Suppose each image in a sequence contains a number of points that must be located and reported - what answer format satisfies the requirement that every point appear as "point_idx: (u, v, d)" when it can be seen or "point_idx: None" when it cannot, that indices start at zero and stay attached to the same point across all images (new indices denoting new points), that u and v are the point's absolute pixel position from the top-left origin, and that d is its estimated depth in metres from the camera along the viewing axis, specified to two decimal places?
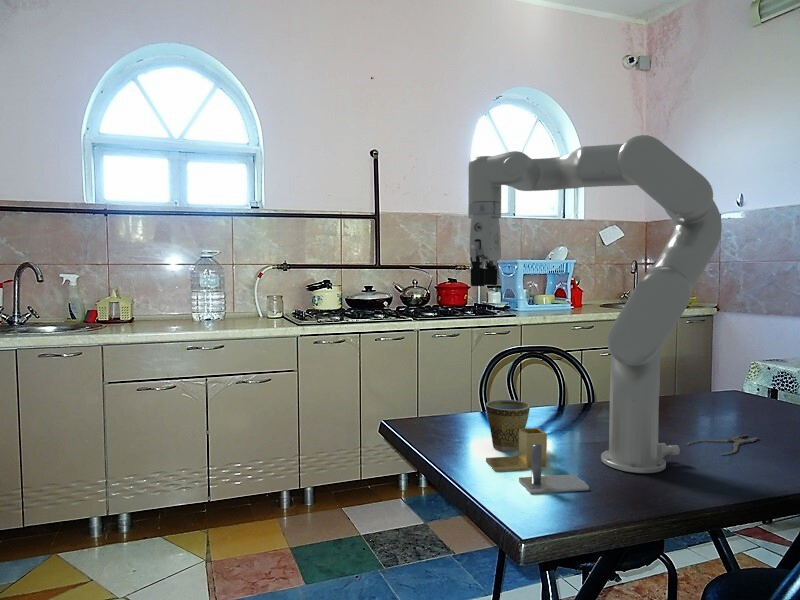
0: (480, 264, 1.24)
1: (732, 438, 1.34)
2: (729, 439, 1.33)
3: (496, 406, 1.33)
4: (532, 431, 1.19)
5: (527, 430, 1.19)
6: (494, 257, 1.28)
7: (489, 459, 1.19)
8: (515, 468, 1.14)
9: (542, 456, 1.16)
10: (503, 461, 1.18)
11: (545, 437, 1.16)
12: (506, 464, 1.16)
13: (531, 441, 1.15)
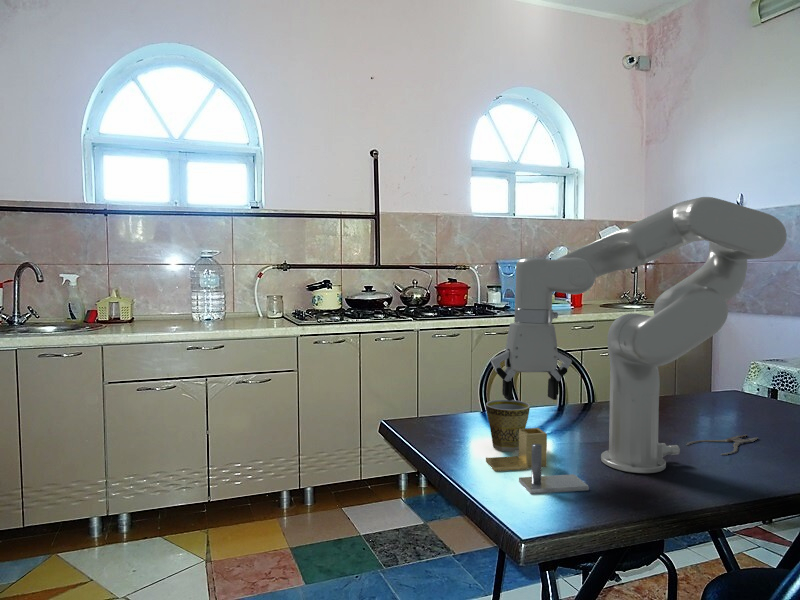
0: None
1: (732, 438, 1.34)
2: (729, 439, 1.33)
3: (496, 406, 1.33)
4: (532, 431, 1.19)
5: (527, 430, 1.19)
6: None
7: (489, 459, 1.19)
8: (515, 468, 1.14)
9: (542, 456, 1.16)
10: (503, 461, 1.18)
11: (545, 437, 1.16)
12: (506, 464, 1.16)
13: (531, 441, 1.15)
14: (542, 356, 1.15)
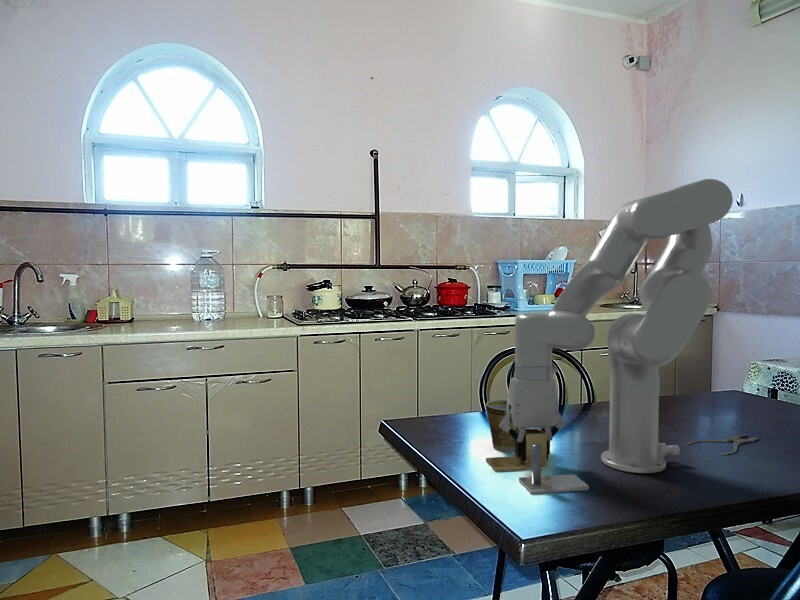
0: None
1: (732, 438, 1.34)
2: (729, 439, 1.33)
3: (496, 406, 1.33)
4: (532, 431, 1.19)
5: (527, 430, 1.19)
6: None
7: (489, 459, 1.19)
8: (515, 468, 1.14)
9: (542, 456, 1.16)
10: (502, 461, 1.18)
11: (545, 437, 1.16)
12: (506, 464, 1.16)
13: (531, 441, 1.15)
14: (543, 412, 1.15)
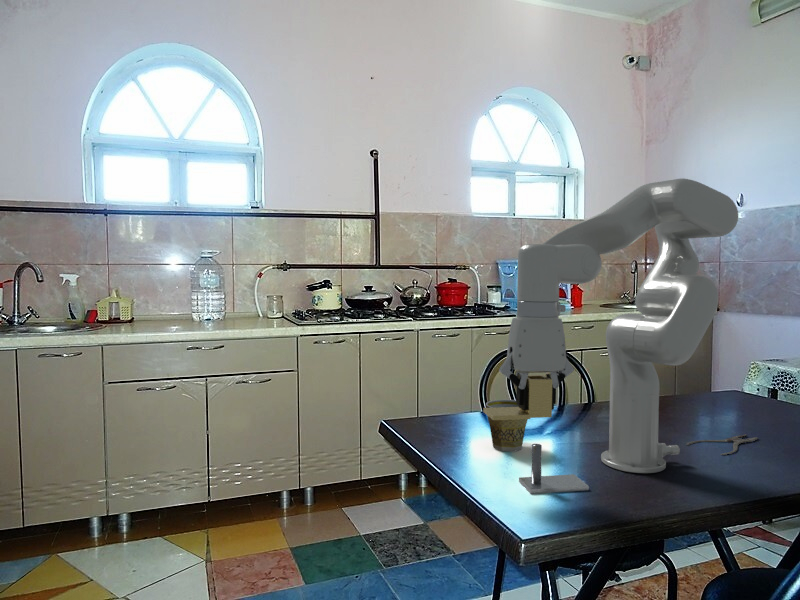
0: None
1: (732, 438, 1.34)
2: (729, 439, 1.33)
3: (496, 406, 1.33)
4: (536, 378, 1.06)
5: (530, 377, 1.06)
6: None
7: (486, 408, 1.06)
8: (516, 417, 1.01)
9: (547, 405, 1.03)
10: (502, 410, 1.04)
11: (550, 383, 1.03)
12: (506, 413, 1.02)
13: (534, 387, 1.02)
14: (549, 354, 1.02)
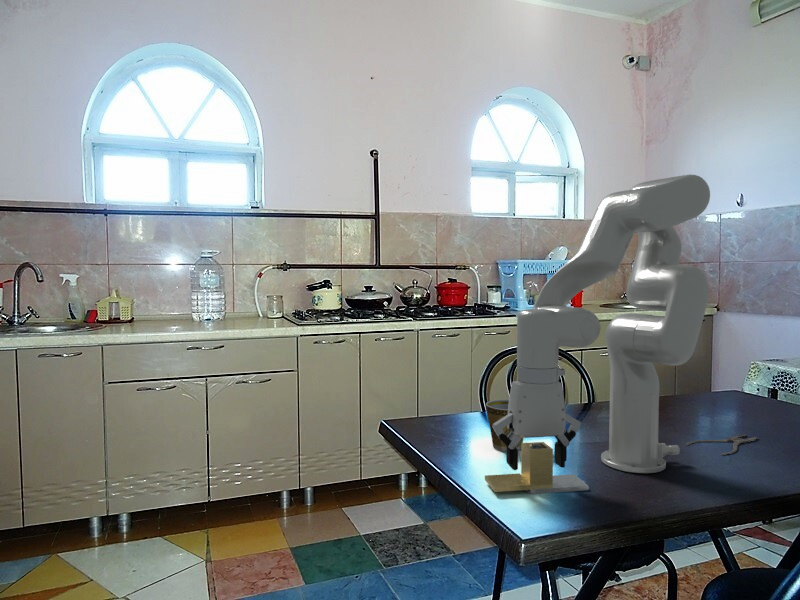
0: None
1: (731, 438, 1.34)
2: (728, 439, 1.33)
3: (496, 406, 1.33)
4: None
5: (531, 445, 1.07)
6: None
7: (488, 477, 1.06)
8: (517, 488, 1.02)
9: (548, 474, 1.04)
10: (503, 479, 1.05)
11: (551, 453, 1.03)
12: (507, 483, 1.03)
13: (535, 457, 1.03)
14: (549, 419, 1.03)
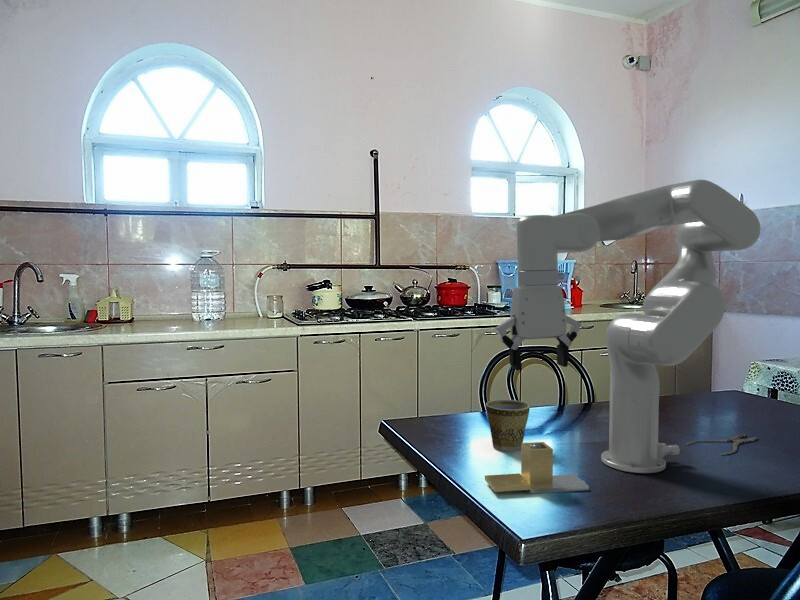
0: None
1: (731, 438, 1.34)
2: (728, 439, 1.33)
3: (496, 406, 1.33)
4: None
5: (531, 445, 1.07)
6: None
7: (488, 477, 1.06)
8: (517, 488, 1.02)
9: (548, 474, 1.04)
10: (503, 479, 1.05)
11: (551, 453, 1.03)
12: (507, 483, 1.03)
13: (535, 457, 1.03)
14: (550, 320, 1.07)
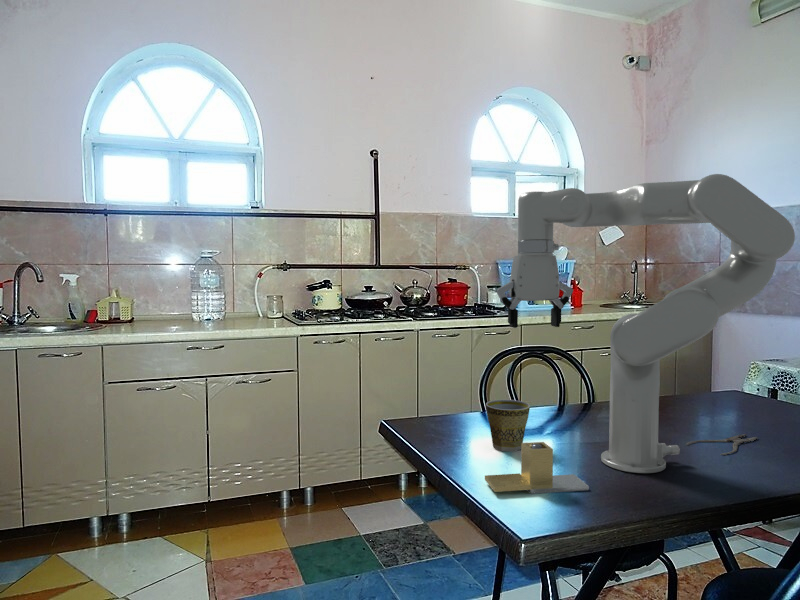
0: None
1: (731, 438, 1.34)
2: (728, 439, 1.33)
3: (496, 406, 1.33)
4: None
5: (531, 445, 1.07)
6: None
7: (488, 477, 1.06)
8: (517, 488, 1.02)
9: (548, 474, 1.04)
10: (503, 479, 1.05)
11: (551, 453, 1.03)
12: (507, 483, 1.03)
13: (535, 457, 1.03)
14: (545, 285, 1.21)
